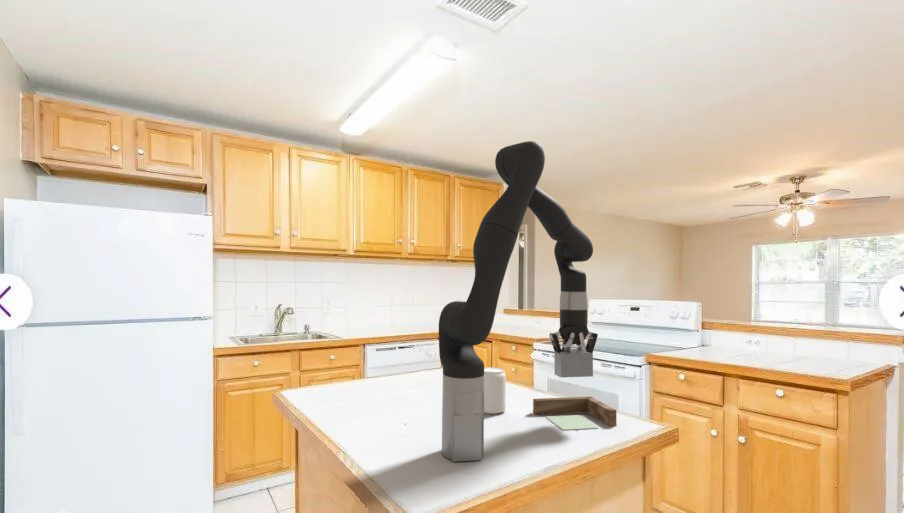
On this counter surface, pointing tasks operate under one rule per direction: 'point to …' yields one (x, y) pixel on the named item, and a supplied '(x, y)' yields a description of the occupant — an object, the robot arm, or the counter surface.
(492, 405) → the beverage can
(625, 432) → the counter surface
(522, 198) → the robot arm
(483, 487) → the counter surface
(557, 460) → the counter surface
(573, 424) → the mat
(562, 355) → the bracket
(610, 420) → the wooden corner fixture
